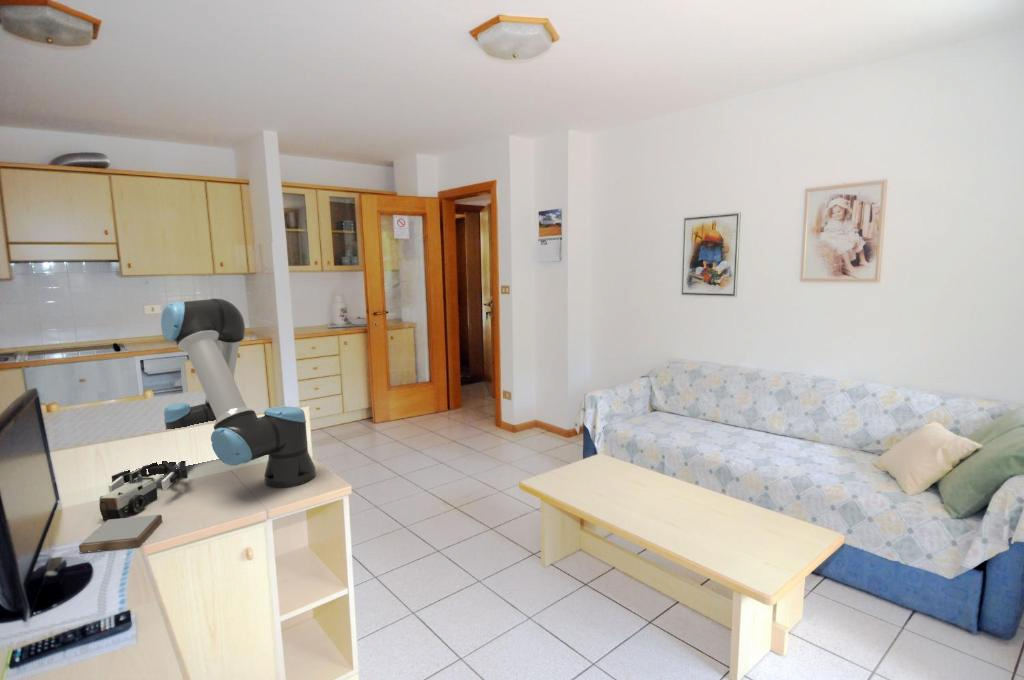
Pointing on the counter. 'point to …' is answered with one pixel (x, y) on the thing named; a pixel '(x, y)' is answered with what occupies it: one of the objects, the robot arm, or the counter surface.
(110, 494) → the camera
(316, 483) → the counter surface
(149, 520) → the walnut stand
